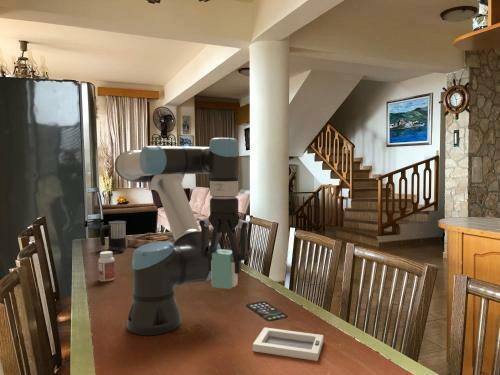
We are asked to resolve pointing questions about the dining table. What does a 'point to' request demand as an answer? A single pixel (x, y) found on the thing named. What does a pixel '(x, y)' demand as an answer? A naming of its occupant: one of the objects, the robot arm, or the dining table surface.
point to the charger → (222, 268)
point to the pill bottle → (106, 266)
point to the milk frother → (115, 235)
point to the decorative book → (157, 238)
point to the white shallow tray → (289, 343)
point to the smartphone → (266, 311)
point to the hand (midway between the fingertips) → (224, 284)
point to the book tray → (141, 241)
